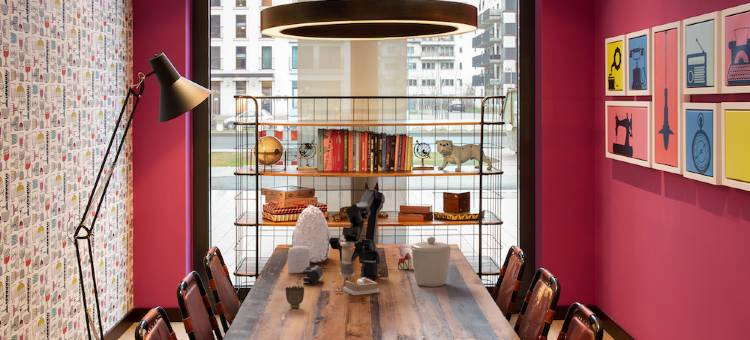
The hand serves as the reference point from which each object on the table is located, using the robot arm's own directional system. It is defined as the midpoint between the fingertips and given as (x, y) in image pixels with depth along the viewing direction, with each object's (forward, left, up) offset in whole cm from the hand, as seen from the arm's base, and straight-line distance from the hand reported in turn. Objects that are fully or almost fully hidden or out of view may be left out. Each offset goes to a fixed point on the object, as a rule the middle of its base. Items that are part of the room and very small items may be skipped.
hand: (346, 260), depth 362 cm
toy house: (-45, -31, -14) cm, 56 cm away
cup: (+30, +15, -13) cm, 36 cm away
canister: (-39, +3, -13) cm, 42 cm away
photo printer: (+2, -47, -13) cm, 48 cm away
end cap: (+5, -24, -14) cm, 28 cm away
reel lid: (-14, -12, -13) cm, 23 cm away
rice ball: (-16, -71, -13) cm, 74 cm away
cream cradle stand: (-6, +1, -13) cm, 15 cm away
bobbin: (-1, -1, -7) cm, 7 cm away
